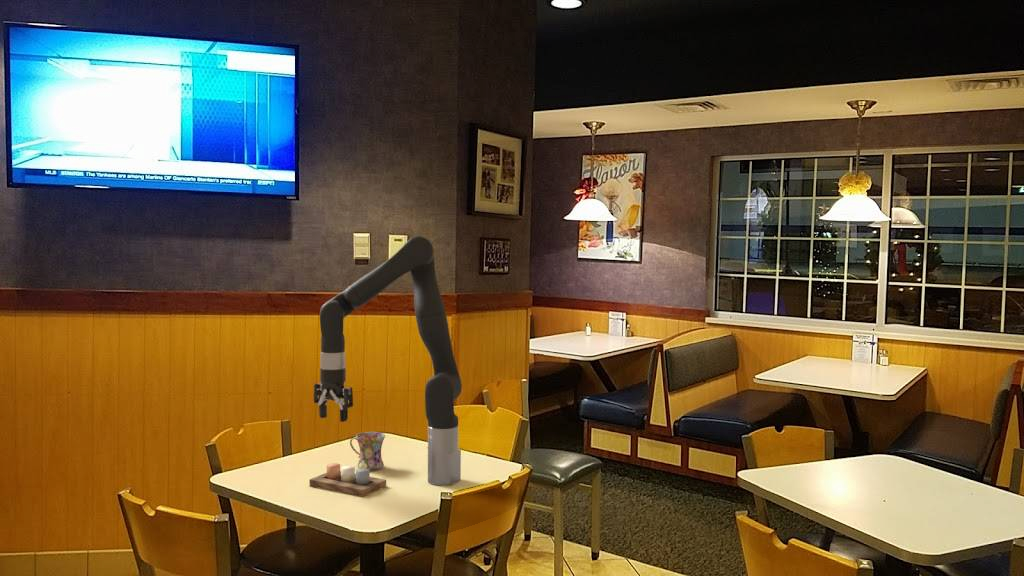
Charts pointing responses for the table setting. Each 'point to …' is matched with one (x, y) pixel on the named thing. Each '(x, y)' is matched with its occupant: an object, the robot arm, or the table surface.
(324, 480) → the button board
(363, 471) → the light blue cube
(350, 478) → the button mid
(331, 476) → the salmon pink cube
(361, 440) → the mug
